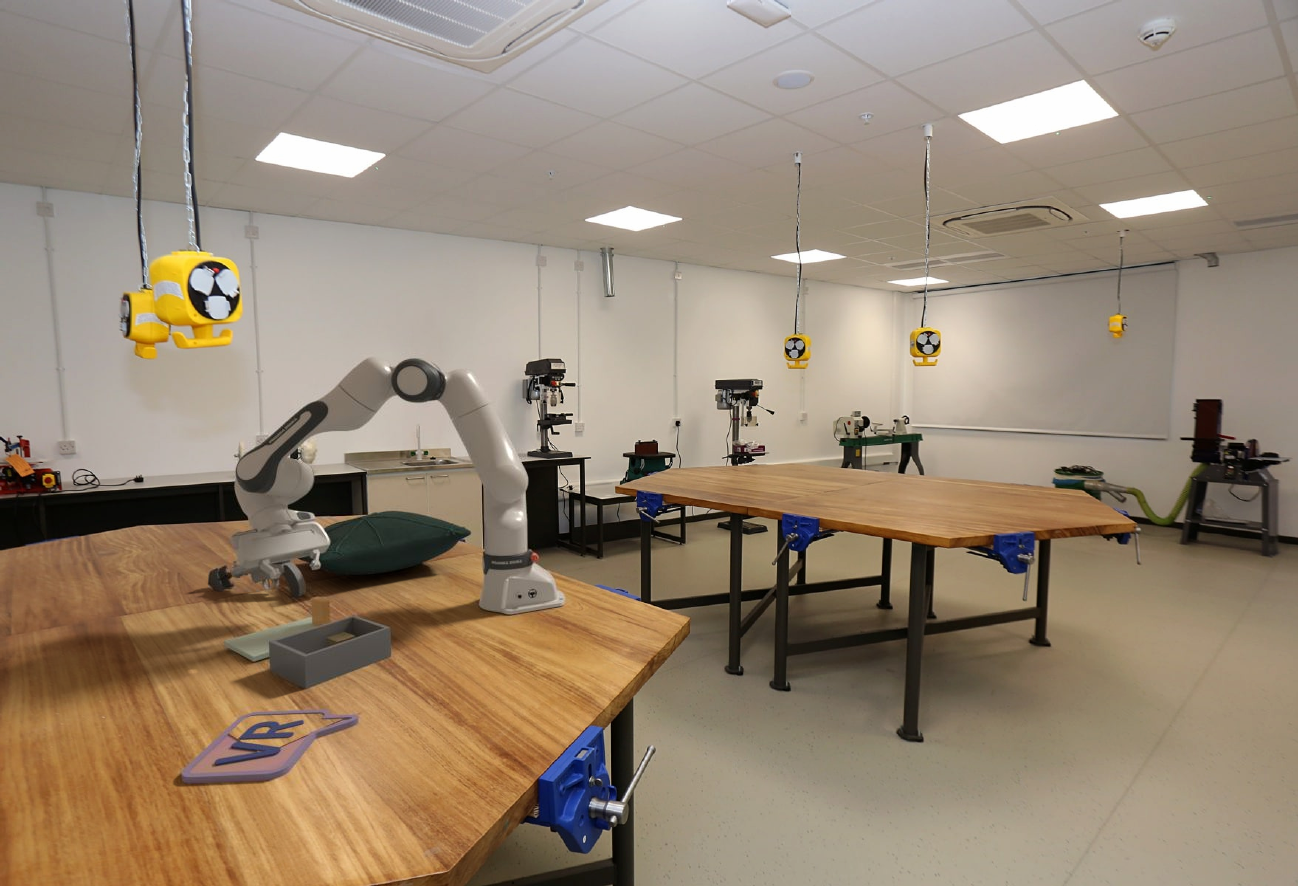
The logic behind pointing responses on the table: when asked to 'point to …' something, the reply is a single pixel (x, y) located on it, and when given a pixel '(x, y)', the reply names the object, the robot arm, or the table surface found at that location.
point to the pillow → (386, 542)
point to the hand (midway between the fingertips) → (297, 572)
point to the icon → (242, 760)
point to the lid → (279, 632)
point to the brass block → (338, 638)
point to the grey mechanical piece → (259, 577)
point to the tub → (329, 651)
